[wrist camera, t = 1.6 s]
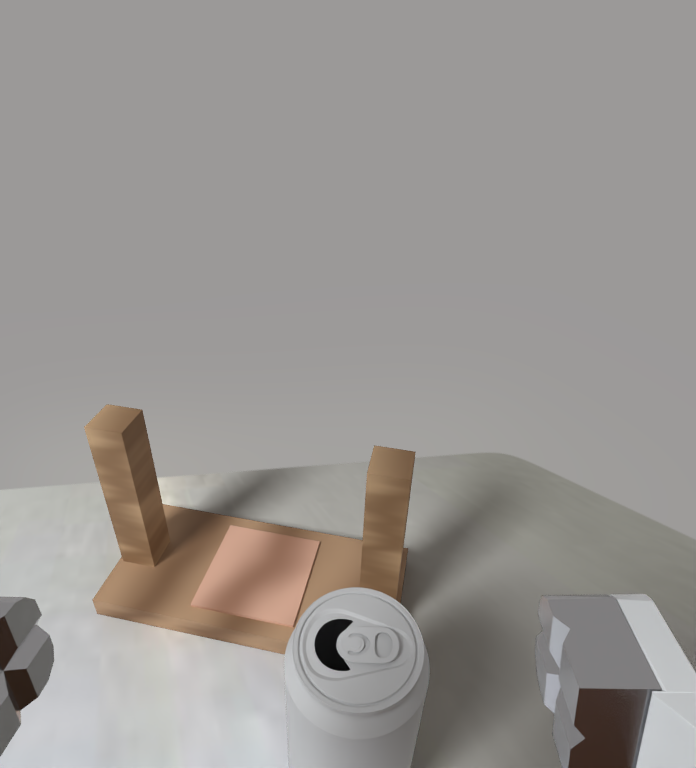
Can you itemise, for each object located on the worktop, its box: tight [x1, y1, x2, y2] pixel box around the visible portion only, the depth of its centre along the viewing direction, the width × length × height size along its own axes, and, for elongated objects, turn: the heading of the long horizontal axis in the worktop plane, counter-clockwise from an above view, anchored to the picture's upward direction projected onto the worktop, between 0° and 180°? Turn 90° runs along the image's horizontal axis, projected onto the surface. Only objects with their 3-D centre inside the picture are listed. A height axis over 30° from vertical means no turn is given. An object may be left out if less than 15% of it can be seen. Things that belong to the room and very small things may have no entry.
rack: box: [84, 405, 415, 654], centre depth 36 cm, size 20×9×14 cm, turn 79°
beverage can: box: [284, 587, 430, 768], centre depth 27 cm, size 6×6×12 cm
